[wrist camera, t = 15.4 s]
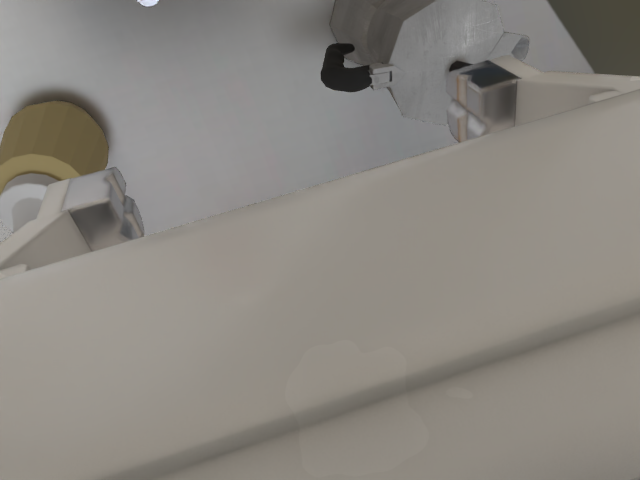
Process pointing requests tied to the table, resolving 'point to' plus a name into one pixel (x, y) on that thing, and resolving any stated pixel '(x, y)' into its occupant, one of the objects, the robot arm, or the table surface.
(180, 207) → the table surface
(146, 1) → the square frame
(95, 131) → the squeeze bottle
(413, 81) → the coffeepot
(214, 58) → the table surface
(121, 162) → the table surface
